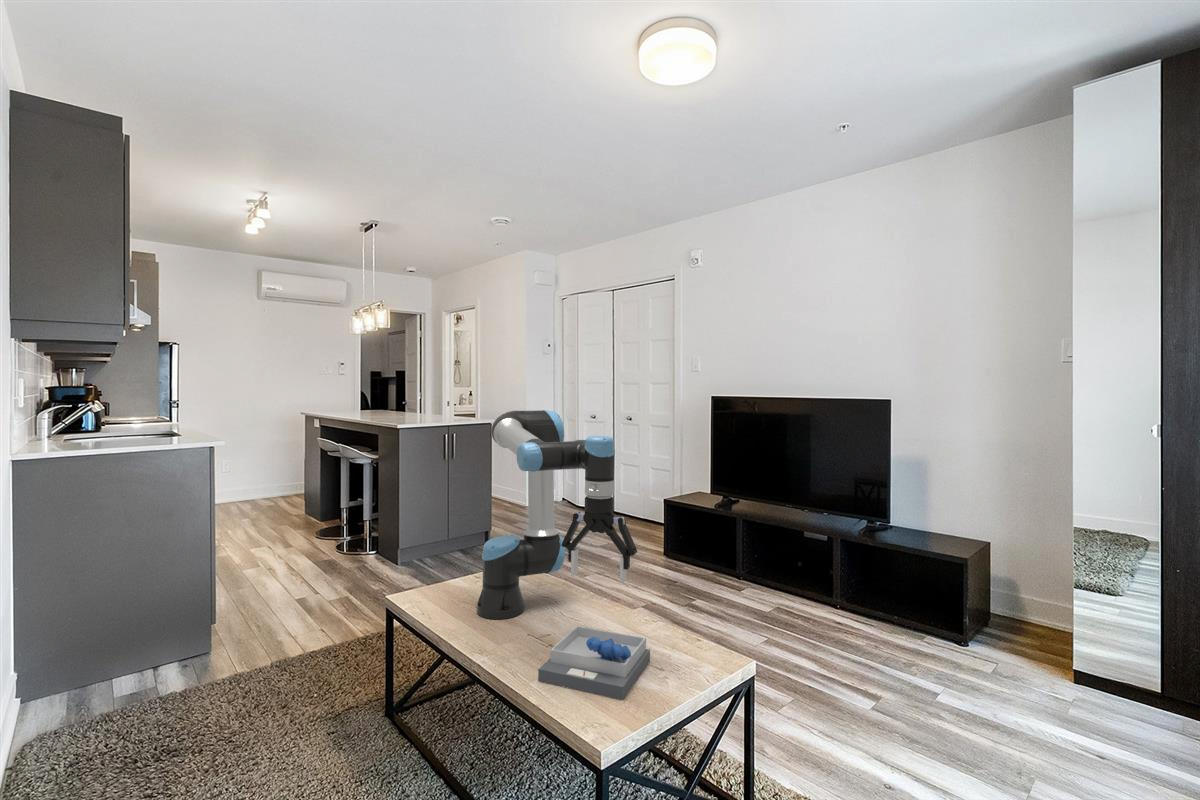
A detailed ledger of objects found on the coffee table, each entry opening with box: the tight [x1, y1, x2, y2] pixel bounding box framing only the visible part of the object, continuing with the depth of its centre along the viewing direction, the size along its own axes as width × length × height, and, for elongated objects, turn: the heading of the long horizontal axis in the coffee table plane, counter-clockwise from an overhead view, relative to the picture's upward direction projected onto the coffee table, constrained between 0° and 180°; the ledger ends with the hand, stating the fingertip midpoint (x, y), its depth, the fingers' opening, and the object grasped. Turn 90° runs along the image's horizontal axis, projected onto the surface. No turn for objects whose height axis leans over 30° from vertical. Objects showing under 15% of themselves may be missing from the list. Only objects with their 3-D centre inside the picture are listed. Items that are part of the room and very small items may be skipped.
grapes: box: [586, 637, 631, 661], centre depth 142 cm, size 12×7×12 cm
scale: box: [537, 625, 651, 701], centre depth 146 cm, size 22×21×6 cm
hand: (598, 578), depth 149 cm, fingers open, 13 cm apart
